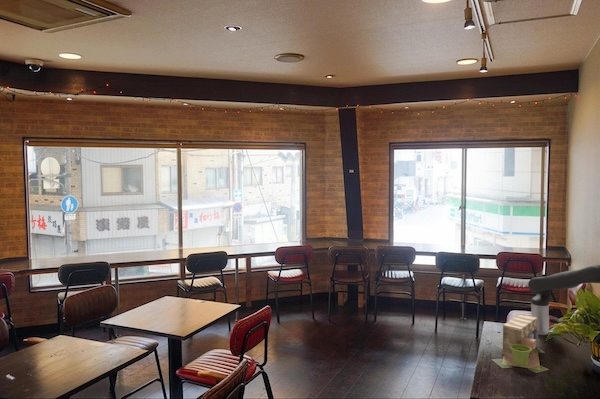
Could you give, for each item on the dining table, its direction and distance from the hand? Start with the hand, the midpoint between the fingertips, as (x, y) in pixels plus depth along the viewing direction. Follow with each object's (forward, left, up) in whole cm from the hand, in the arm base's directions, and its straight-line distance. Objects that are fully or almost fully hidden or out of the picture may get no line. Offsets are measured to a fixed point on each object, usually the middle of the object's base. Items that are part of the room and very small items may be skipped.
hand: (549, 319), depth 247 cm
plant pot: (+26, +1, -18) cm, 32 cm away
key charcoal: (+1, -9, -12) cm, 15 cm away
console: (+9, -10, -18) cm, 23 cm away
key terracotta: (+15, -2, -12) cm, 19 cm away
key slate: (+9, -7, -12) cm, 17 cm away
